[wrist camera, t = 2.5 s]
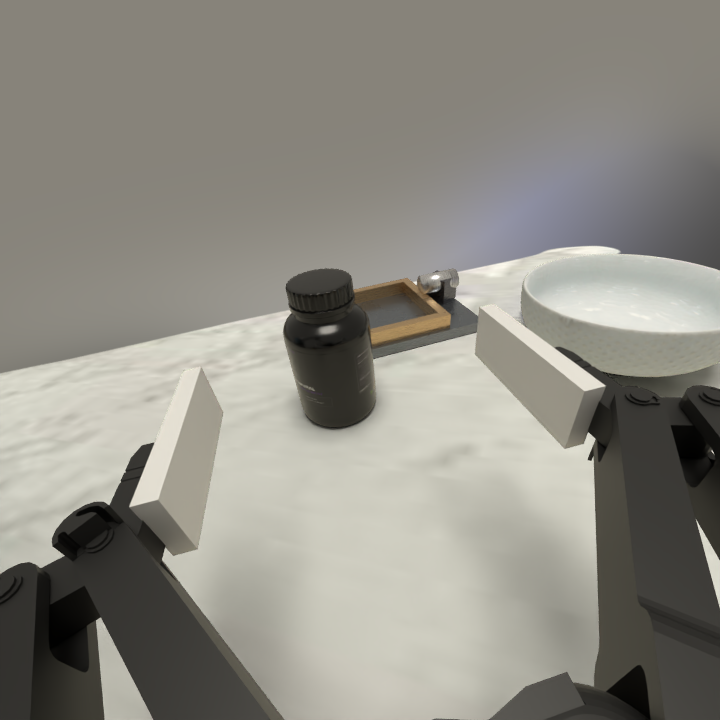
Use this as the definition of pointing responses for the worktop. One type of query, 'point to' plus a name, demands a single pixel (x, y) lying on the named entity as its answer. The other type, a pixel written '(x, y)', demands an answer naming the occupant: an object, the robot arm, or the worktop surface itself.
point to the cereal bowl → (627, 312)
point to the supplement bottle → (329, 348)
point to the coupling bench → (415, 312)
